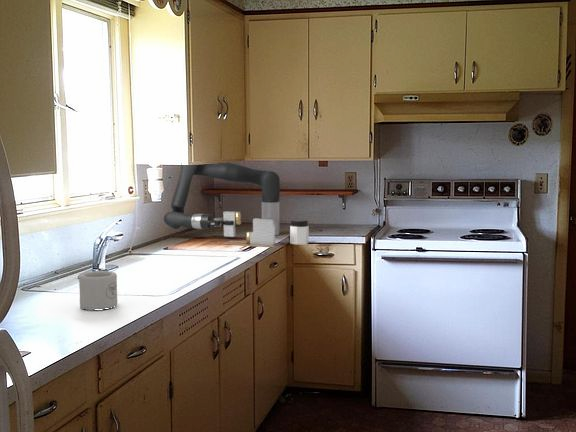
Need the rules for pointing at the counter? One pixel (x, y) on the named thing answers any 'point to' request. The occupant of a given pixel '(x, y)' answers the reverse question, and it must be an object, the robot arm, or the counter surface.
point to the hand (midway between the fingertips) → (234, 222)
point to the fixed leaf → (262, 232)
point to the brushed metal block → (231, 216)
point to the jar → (299, 231)
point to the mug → (98, 290)
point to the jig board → (241, 243)
